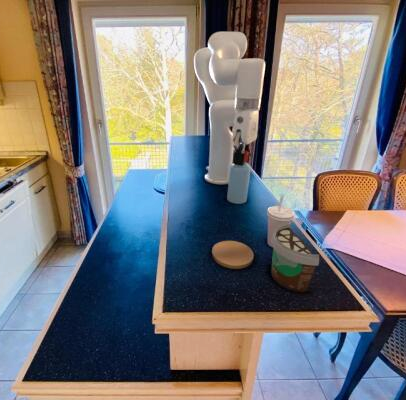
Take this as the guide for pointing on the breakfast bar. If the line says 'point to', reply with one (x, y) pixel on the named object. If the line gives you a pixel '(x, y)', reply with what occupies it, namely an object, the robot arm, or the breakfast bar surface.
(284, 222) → the smoothie
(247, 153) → the cap
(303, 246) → the food container
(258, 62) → the robot arm
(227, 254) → the coaster
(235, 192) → the bottle
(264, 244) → the breakfast bar surface
